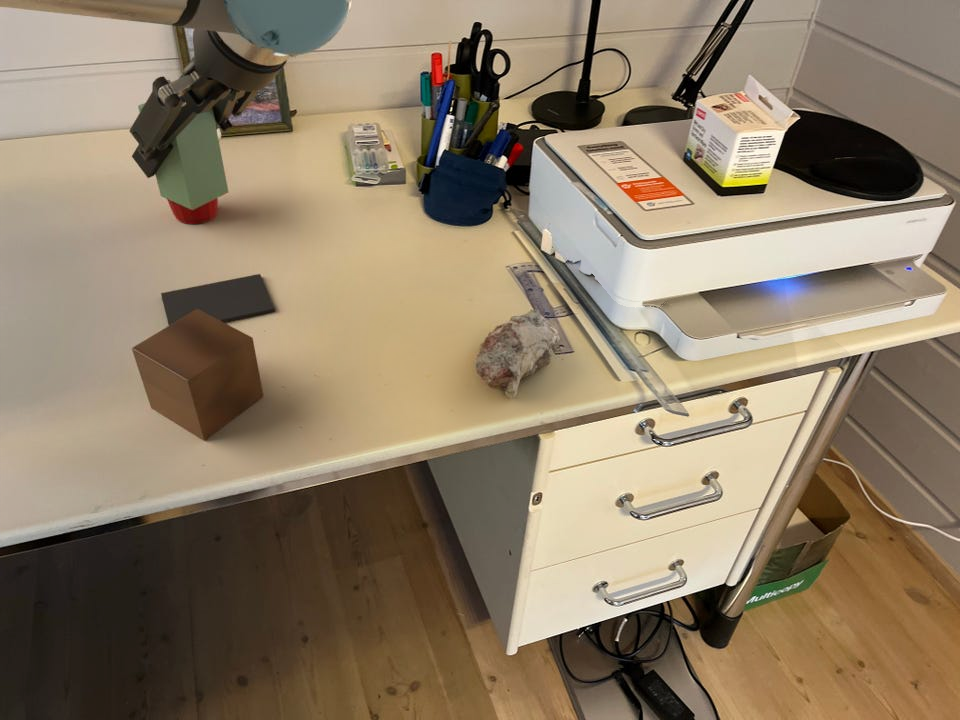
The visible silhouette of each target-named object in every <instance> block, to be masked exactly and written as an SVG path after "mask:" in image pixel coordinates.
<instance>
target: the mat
mask: <svg viewBox="0 0 960 720" xmlns="http://www.w3.org/2000/svg"><path fill="white" fill-rule="evenodd" d="M160 295H161V300H162V303H163V308H164V312H165V316H166V319H167V320H166V321H167V324H168V325H167V326H169V325H171V324H173V323H174V322H176V321H178V320H179V319H181V318H183V317H184V316H186V315H188V314H189V313H191V312H193V311H194V310H196V309H199V310H201V311H203V312H204V313H206V314H208V315H210V316H212V317H214V318H216V319H218V320H220V321H222V322H224V323H229V322H233V321H238V320H243V319H248V318H253V317H257V316H261V315H267V314H271V313H276V309H275V306H274V304H273V301H272V299H271V296H270V294H269V292H268V289H267V287H266V284H265V282H264V279H263V277H262V275H261V273H257V274H252V275H246V276H242V277H237V278H232V279H231V278H230V279H227V280H221V281H216V282H211V283H206V284H200V285H196V286H191V287H185V288H181V289H175V290H171V291H165V292H161V293H160Z"/></svg>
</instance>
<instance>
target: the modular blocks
mask: <svg viewBox="0 0 960 720" xmlns="http://www.w3.org/2000/svg"><path fill="white" fill-rule="evenodd" d="M540 251H543V252H544V253H546V254H548V255H553V254H554V258H555V259H557V260H558V261H561V263H567V262H566V261H565V260H564V259H563V257H562V256H561V255H560V254H559V253H557V252H556V248H555V247H554V248H552V236H551V233H550V232H549V231H548V230H547V229H546V228H544V229H542V236H541V244H540Z"/></svg>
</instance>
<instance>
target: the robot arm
mask: <svg viewBox="0 0 960 720" xmlns="http://www.w3.org/2000/svg"><path fill="white" fill-rule="evenodd" d="M352 4H353V0H0V8H7V9H8V8H9V9H18V10H28V11H38V12H48V13H55V14H64V15H73V16H81V17H82V16H83V17H90V18H91V17H93V18H101V19H109V20H117V21H118V20H119V21H127V22H128V21H129V22H136V23H138V22H139V23H147V24H155V25H156V24H157V25H158V24H159V25H165V26H172V27H173V26H174V27H179V28H183V29H184V28H185V29H191V30H193V32H192V46H193V47H192V48H193V57H192V59H190V61H189V62H188V64H187V65H186V66H185V67H184V68H183V69H182V72H181V73H182V74H181V76H179V78H177V79H176V80H173V81H171V80H170V79H167V78H166V77H165V76H159V77H156V78H155V79H154V81H152V83H151V85H152V90H151V93H150V95H149V96H148V97H147V100H146V102H144V103H145V105H144V106H143V108H142V110H141V112H139V113H138V115H137V116H136V119H135V120H134V121H133V124H132V125H131V127H130V129H129V133H130V135H132V137H133V138H134V140H135V142H136V141H137V142H138V144H139V145H138V146H137V147H136V148H135V150H134V151H133V153H132V155H131V157H132V159H133V160H134V162H135V163H136V164H137V166H138V167H139V169H141V171H142V172H143V174H144V175H145V176H146V179H150V178H152V177H154V176H156V175H155V173H156V172H157V170H158V169H159V167H160V166H161V164H162V163H163V162H164V160H165V159H166V157H167V156H168V154H169V153H170V151H171V150H172V148H173V145H172V144H171V142H172V141H173V140H174V139H175V138H176V137H177V136H178V135H179V134H180V133H181V132H182V130H183V129H184V128H185V127H186V126H187V125H188V124H189V123H190V122H191V121H192V120H193V119H194V118H195V117H196V116H197V115H198V114H200V113H204V112H208V111H209V110H210V109H211V108H213V113H214V118H215V123H216V129H218V128H219V129H220V130H221V131H222V132H223V133H224V132H227V131H229V130H231V129H232V127H233V126H234V125H233V124H232V123H231V121H230V120H229V119H230V117H231V115H232V116H233V117H234V118H236V117H237V118H238V117H240V116H241V115H243V113H244V112H245V110H246V109H247V108H248V107H249V105H250V103H251V102H252V101H253V99H255V97H256V95H257V94H258V93H259V91H260V90H263V89H265V88H267V87H268V86H269V85H270V84H271V83H272V82H273V80H274V79H275V78H276V77H277V76H278V74H279V73H280V71H281V70H282V69H283V68H284V67H285V65H286V63H287V61H288V60H289V59H290V58H296V57H298V56H301V55H305V54H309V53H311V52H314V51H316V50H319V49H320V48H322V47H324V46H325V45H327V44H328V43H329V42H330V41H331V40H332V39H334V37H335V36H336V35H337V34H338V33H339V31H340V30H341V29H342V27H343V26H344V24H345V22H346V20H347V19H348V15H349V13H350V10H351V7H352Z"/></svg>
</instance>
